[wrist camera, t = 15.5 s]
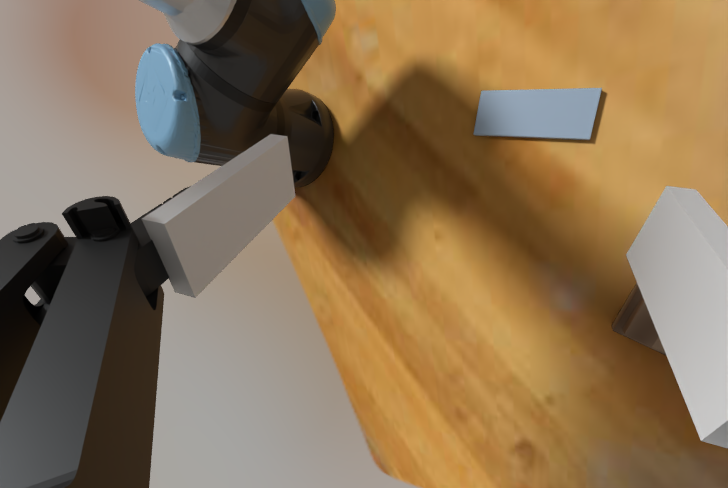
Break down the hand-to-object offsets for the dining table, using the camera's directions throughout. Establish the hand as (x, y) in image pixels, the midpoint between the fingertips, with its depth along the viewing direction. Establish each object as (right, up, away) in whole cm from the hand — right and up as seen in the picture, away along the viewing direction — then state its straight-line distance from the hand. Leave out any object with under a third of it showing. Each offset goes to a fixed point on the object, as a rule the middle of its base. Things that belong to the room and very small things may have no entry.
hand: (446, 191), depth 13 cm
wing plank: (+16, +12, +27) cm, 33 cm away
